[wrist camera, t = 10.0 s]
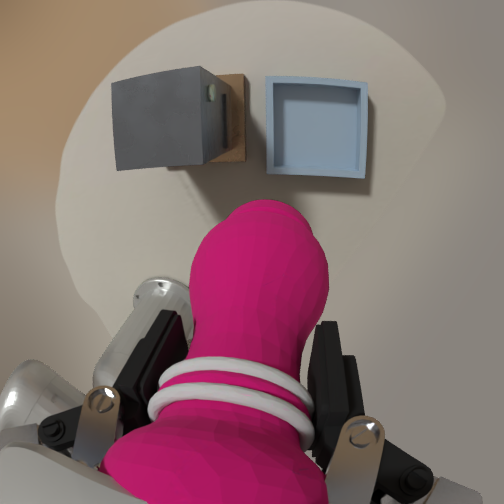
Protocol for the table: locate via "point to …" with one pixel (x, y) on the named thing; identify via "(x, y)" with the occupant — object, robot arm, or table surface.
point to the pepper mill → (237, 374)
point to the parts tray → (316, 126)
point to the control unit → (178, 119)
